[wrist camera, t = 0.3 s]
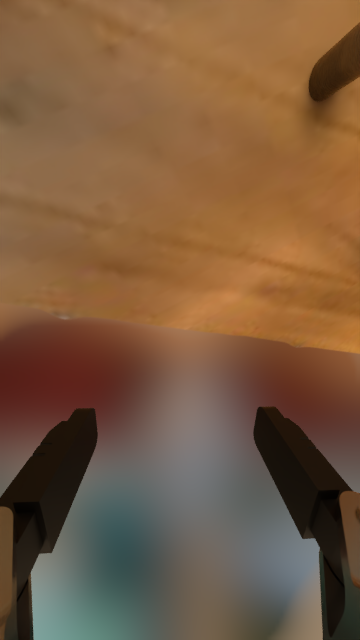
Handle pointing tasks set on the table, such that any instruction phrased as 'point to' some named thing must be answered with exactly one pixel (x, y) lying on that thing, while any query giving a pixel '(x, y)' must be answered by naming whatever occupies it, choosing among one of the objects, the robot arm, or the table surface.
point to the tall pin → (336, 66)
